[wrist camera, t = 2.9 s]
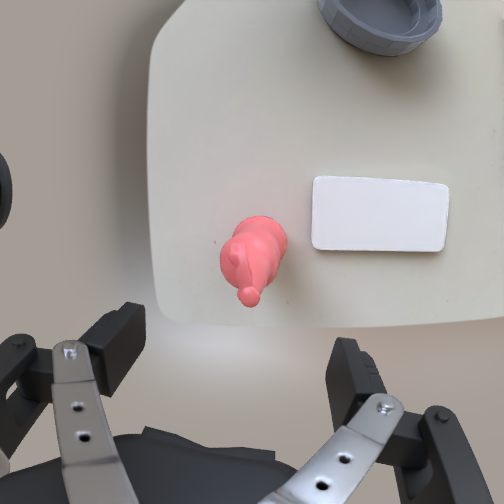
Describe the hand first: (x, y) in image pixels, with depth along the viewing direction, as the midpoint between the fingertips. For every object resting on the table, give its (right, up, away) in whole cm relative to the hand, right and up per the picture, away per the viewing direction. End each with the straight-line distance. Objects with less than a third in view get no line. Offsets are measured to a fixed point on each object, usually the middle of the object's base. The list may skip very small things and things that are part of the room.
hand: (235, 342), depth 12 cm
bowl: (+14, +29, +11) cm, 34 cm away
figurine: (+1, +5, +19) cm, 20 cm away
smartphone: (+14, +7, +17) cm, 24 cm away
